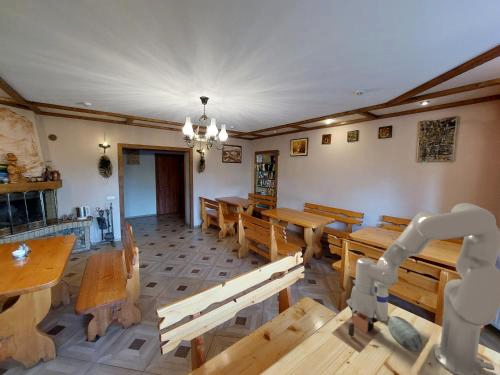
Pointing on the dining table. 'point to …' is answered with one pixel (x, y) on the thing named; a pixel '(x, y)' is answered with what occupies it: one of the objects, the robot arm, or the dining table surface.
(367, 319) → the orange hollow square block
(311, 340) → the dining table surface
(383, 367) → the dining table surface
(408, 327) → the grey streaked oval part
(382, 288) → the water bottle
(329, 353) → the dining table surface
